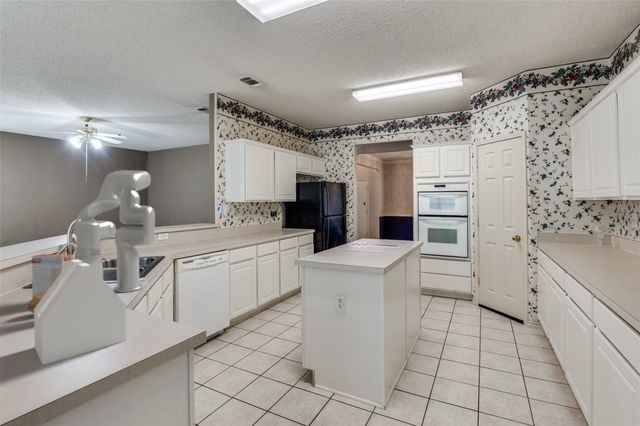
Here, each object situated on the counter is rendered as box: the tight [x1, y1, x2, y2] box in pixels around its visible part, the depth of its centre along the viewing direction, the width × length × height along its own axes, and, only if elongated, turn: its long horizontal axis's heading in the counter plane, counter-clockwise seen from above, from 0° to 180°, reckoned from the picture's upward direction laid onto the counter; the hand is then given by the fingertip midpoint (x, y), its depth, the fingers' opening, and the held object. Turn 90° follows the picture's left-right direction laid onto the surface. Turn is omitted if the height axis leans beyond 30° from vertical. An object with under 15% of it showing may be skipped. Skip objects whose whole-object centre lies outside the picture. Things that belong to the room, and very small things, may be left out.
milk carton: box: [33, 259, 127, 366], centre depth 92 cm, size 19×15×25 cm
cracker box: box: [31, 253, 74, 299], centre depth 132 cm, size 14×6×21 cm, turn 84°
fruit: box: [27, 294, 45, 314], centre depth 117 cm, size 8×8×8 cm
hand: (89, 299), depth 120 cm, fingers closed on fader, 2 cm apart
